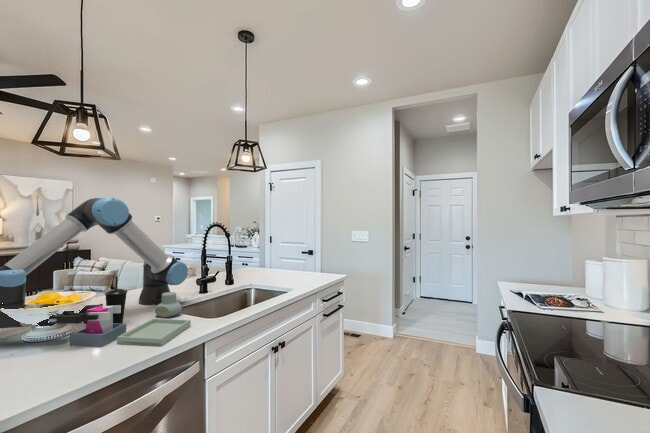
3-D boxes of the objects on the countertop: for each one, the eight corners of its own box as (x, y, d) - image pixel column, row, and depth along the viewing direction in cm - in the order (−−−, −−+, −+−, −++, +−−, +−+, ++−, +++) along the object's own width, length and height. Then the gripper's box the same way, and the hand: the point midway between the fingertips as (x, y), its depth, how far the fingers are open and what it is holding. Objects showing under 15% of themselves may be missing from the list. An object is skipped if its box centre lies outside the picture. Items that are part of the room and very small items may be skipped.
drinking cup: (115, 329, 120) (116, 278, 120) (98, 328, 121) (100, 277, 121) (131, 323, 127) (132, 275, 127) (115, 321, 129) (116, 274, 129)
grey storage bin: (97, 333, 116) (97, 322, 116) (125, 334, 115) (126, 323, 115) (69, 345, 104) (70, 333, 105) (101, 347, 104) (101, 335, 104)
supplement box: (100, 335, 113) (101, 304, 113) (113, 337, 112) (114, 306, 112) (84, 341, 108) (85, 309, 108) (98, 343, 106) (99, 310, 106)
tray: (153, 324, 126) (153, 318, 126) (190, 326, 125) (190, 320, 125) (116, 344, 106) (116, 336, 106) (160, 346, 105) (161, 339, 105)
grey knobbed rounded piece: (151, 317, 136) (151, 294, 136) (164, 311, 144) (165, 290, 144) (172, 319, 133) (173, 296, 133) (185, 313, 141) (185, 292, 141)
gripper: (60, 316, 116) (127, 314, 121) (18, 337, 97) (100, 333, 101) (61, 297, 116) (127, 295, 121) (19, 313, 97) (100, 310, 101)
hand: (115, 312), depth 111 cm, fingers closed on supplement box, 7 cm apart
